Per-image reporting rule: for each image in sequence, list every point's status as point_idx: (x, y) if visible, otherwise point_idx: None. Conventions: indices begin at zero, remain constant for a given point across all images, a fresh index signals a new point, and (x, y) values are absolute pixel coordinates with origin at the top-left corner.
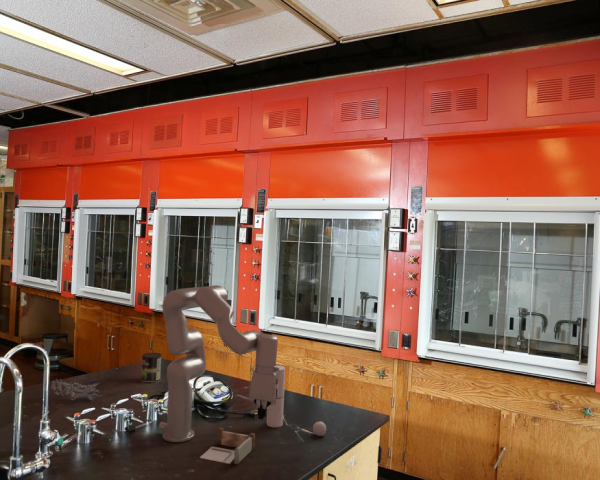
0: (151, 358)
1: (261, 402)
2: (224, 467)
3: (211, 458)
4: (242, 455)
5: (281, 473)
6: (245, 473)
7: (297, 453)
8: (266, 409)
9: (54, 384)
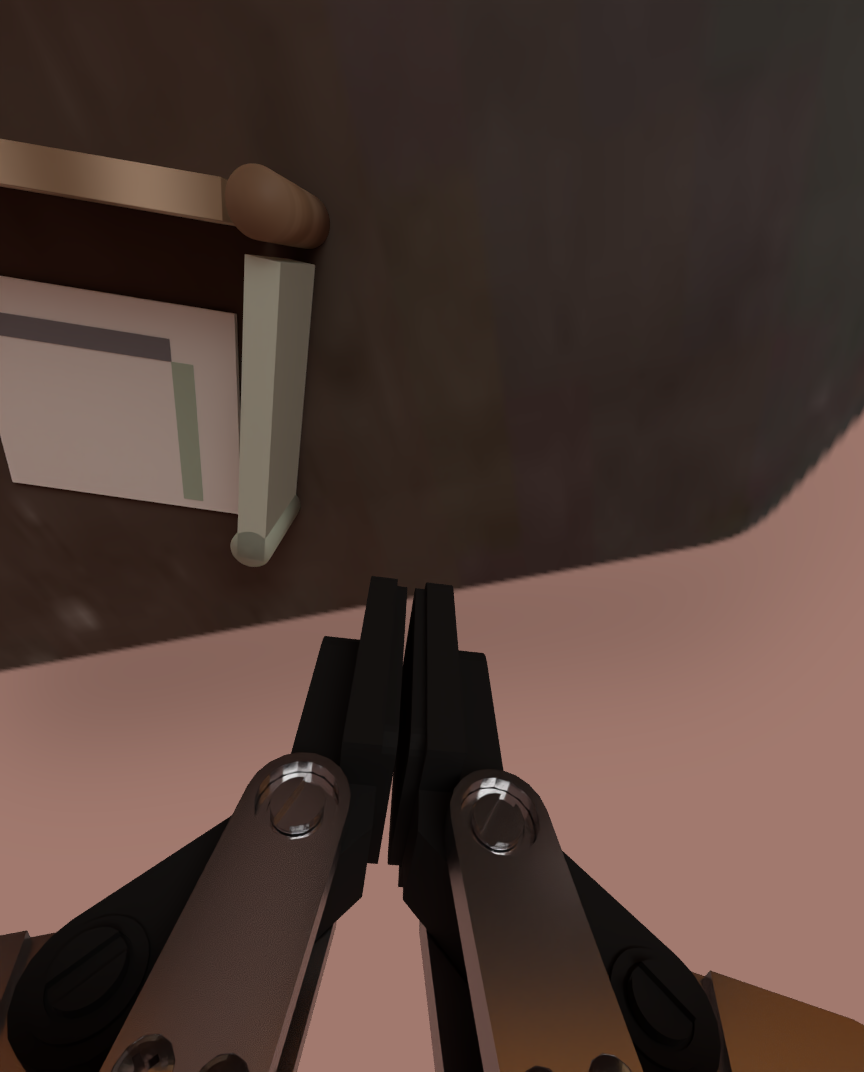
0: None
1: (317, 901)
2: None
3: (93, 479)
4: (292, 451)
5: (597, 554)
6: None
7: (745, 195)
8: (496, 766)
9: None
